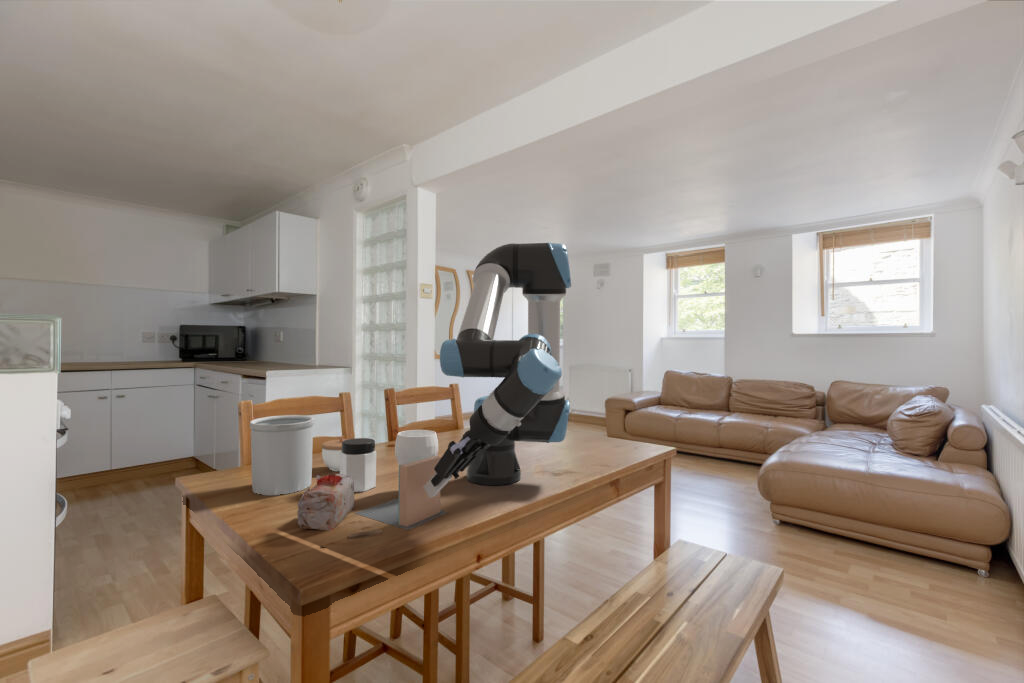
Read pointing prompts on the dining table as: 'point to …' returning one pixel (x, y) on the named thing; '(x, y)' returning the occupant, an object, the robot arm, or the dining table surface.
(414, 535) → the dining table surface
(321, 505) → the food item
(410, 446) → the cup
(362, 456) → the jar
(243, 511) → the dining table surface
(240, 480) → the dining table surface
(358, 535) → the spatula
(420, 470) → the tile
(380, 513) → the mat
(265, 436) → the utensil holder
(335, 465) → the lidded jar
